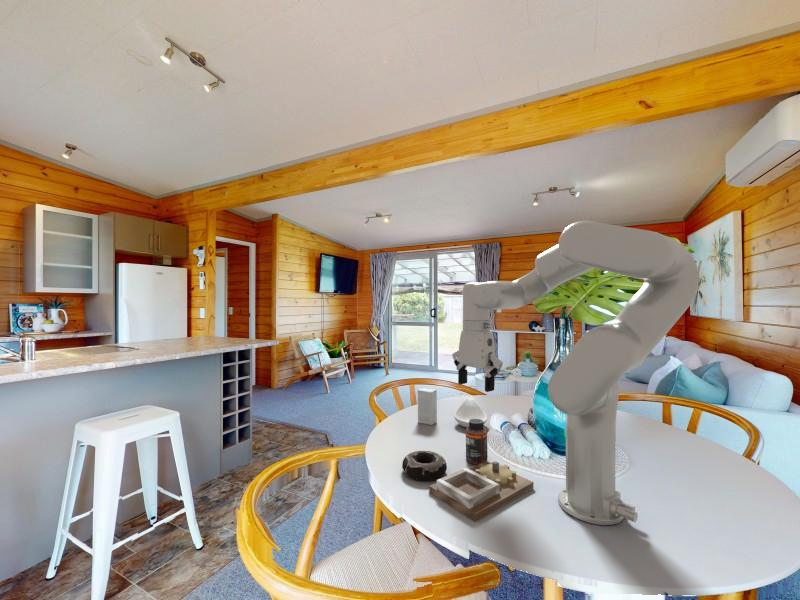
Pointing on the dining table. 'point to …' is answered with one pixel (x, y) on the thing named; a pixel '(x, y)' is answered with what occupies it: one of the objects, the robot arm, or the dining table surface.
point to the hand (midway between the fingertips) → (475, 387)
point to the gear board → (480, 489)
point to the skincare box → (427, 406)
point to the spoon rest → (469, 412)
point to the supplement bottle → (476, 442)
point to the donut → (424, 465)
